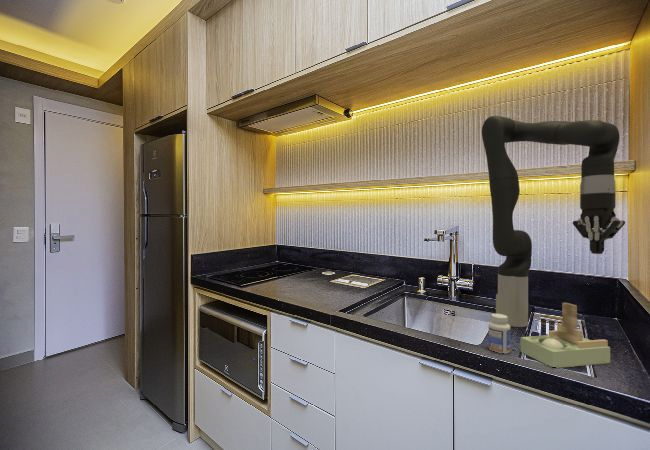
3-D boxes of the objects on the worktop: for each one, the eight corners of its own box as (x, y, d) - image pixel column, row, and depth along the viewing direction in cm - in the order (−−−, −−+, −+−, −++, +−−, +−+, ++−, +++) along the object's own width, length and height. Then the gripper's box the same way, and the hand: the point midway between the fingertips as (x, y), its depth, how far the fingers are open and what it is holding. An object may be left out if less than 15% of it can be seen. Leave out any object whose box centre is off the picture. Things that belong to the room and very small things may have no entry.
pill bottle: (502, 346, 89) (503, 312, 89) (515, 354, 84) (515, 318, 84) (484, 346, 89) (484, 312, 89) (495, 354, 84) (495, 318, 84)
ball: (541, 332, 84) (555, 341, 84) (533, 348, 83) (546, 357, 84) (558, 339, 79) (572, 348, 79) (550, 356, 78) (564, 365, 79)
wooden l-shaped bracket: (557, 336, 85) (557, 301, 85) (560, 336, 85) (560, 301, 85) (578, 344, 79) (578, 307, 79) (582, 344, 79) (582, 306, 79)
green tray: (520, 351, 85) (520, 331, 85) (572, 347, 88) (572, 328, 88) (553, 368, 75) (553, 345, 75) (610, 362, 78) (610, 341, 78)
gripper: (564, 194, 93) (563, 251, 93) (611, 189, 80) (611, 256, 80) (584, 195, 95) (584, 251, 95) (635, 190, 82) (634, 255, 82)
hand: (597, 253), depth 87 cm, fingers closed
